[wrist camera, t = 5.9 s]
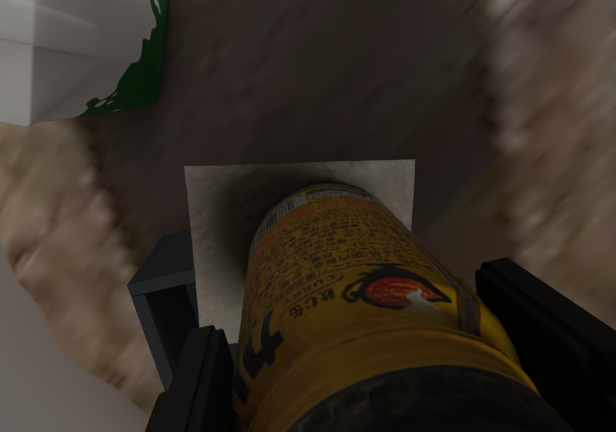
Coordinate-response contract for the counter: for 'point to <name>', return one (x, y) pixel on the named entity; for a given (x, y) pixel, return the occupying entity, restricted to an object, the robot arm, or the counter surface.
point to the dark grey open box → (168, 301)
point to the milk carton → (78, 57)
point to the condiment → (347, 307)
